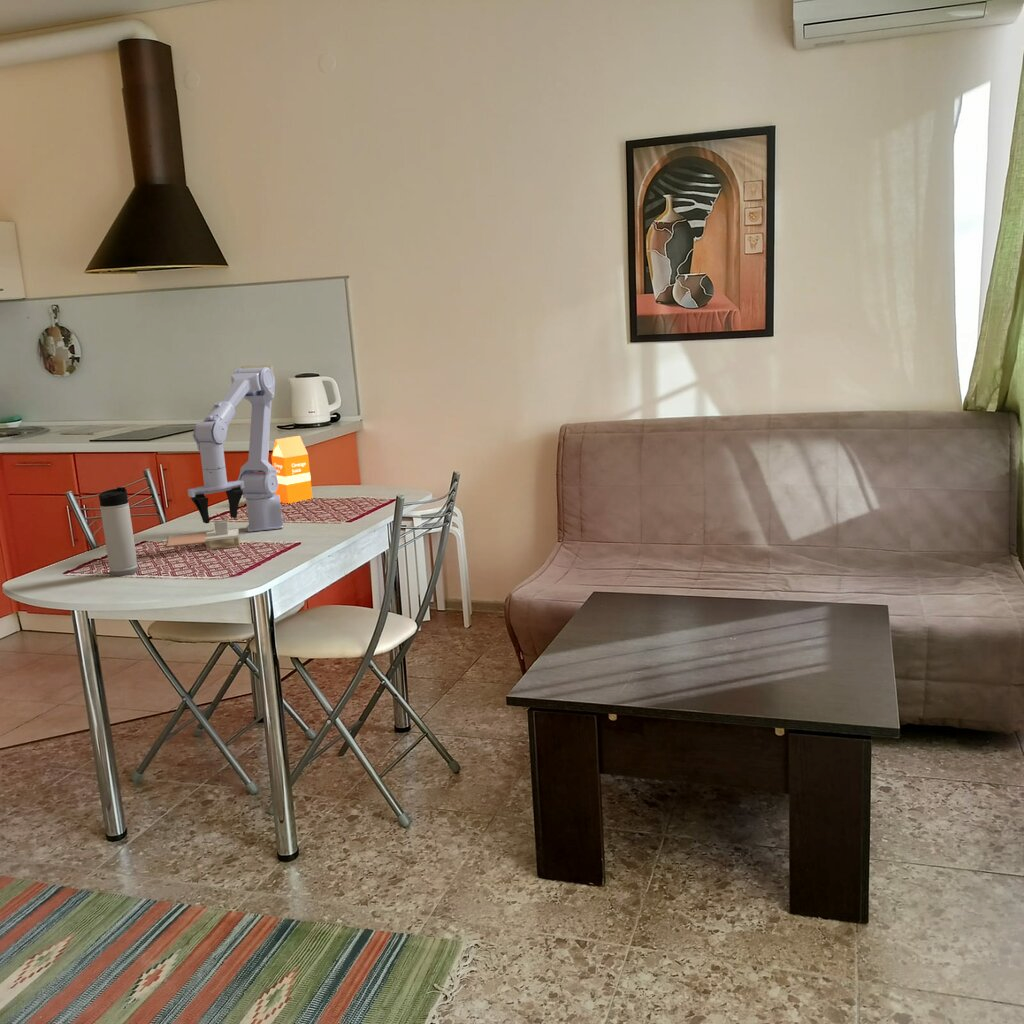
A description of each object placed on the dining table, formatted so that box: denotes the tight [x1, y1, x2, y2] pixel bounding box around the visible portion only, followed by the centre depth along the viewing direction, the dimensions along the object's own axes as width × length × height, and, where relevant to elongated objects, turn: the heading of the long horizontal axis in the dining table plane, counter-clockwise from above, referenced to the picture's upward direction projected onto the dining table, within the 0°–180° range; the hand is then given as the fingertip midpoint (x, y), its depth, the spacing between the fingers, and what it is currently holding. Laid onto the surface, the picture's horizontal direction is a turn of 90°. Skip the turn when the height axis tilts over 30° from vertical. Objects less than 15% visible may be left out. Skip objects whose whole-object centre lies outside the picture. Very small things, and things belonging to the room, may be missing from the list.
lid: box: [205, 519, 240, 541], centre depth 253 cm, size 8×8×5 cm
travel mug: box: [98, 486, 139, 577], centre depth 230 cm, size 6×7×20 cm
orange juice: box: [271, 435, 313, 504], centre depth 308 cm, size 8×9×20 cm
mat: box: [165, 532, 207, 548], centre depth 261 cm, size 11×11×1 cm
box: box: [205, 532, 240, 551], centre depth 254 cm, size 8×8×2 cm
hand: (220, 520), depth 252 cm, fingers open, 7 cm apart
